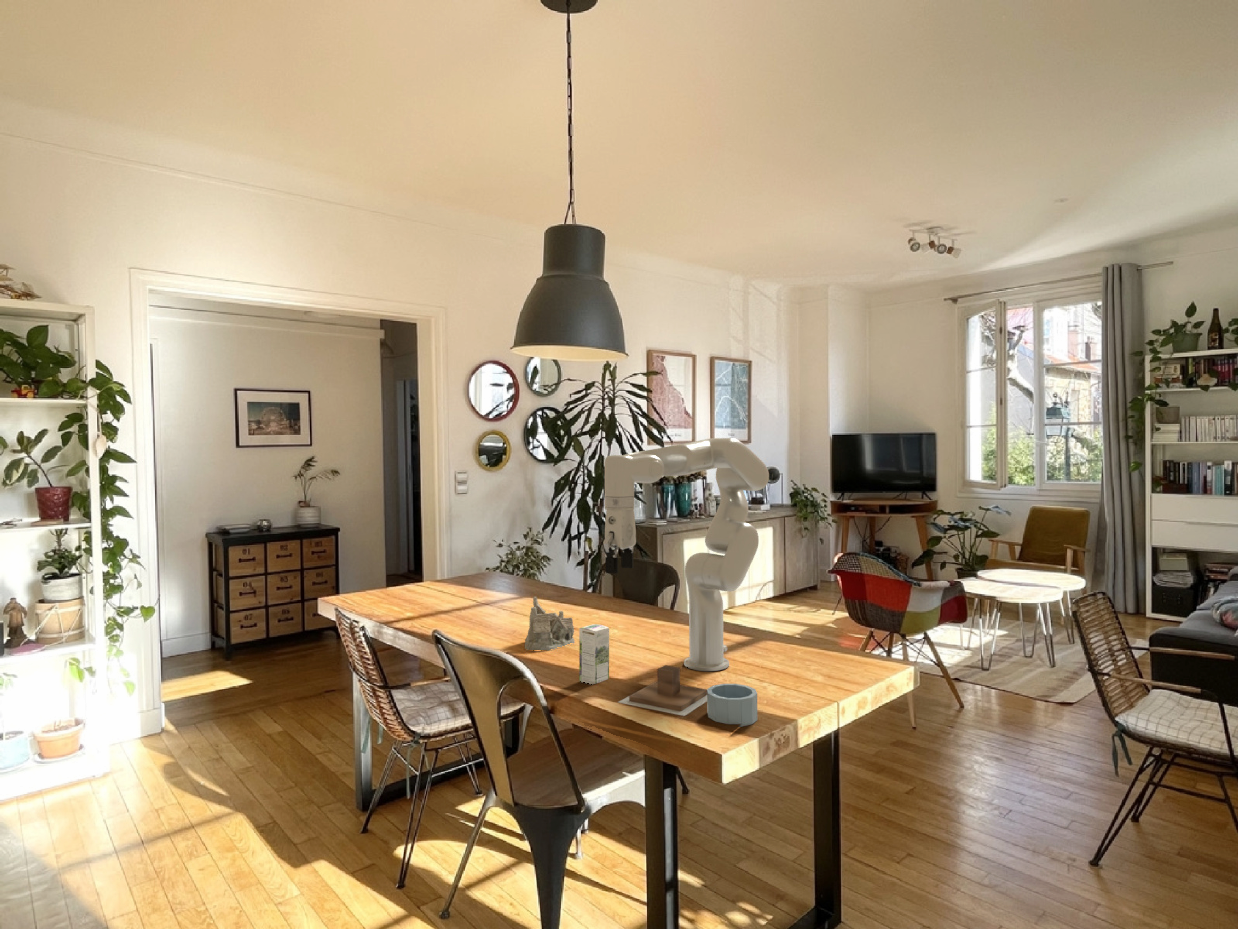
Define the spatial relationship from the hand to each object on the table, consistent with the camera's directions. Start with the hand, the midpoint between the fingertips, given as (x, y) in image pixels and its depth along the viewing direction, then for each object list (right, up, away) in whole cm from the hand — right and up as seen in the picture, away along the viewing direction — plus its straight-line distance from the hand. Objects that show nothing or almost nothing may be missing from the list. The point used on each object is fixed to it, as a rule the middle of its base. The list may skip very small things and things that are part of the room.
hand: (619, 570), depth 192 cm
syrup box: (-7, -30, +6) cm, 32 cm away
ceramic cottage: (-22, -30, +45) cm, 58 cm away
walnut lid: (+12, -30, -9) cm, 33 cm away
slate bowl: (+25, -30, -22) cm, 45 cm away
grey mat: (+12, -30, -9) cm, 34 cm away
